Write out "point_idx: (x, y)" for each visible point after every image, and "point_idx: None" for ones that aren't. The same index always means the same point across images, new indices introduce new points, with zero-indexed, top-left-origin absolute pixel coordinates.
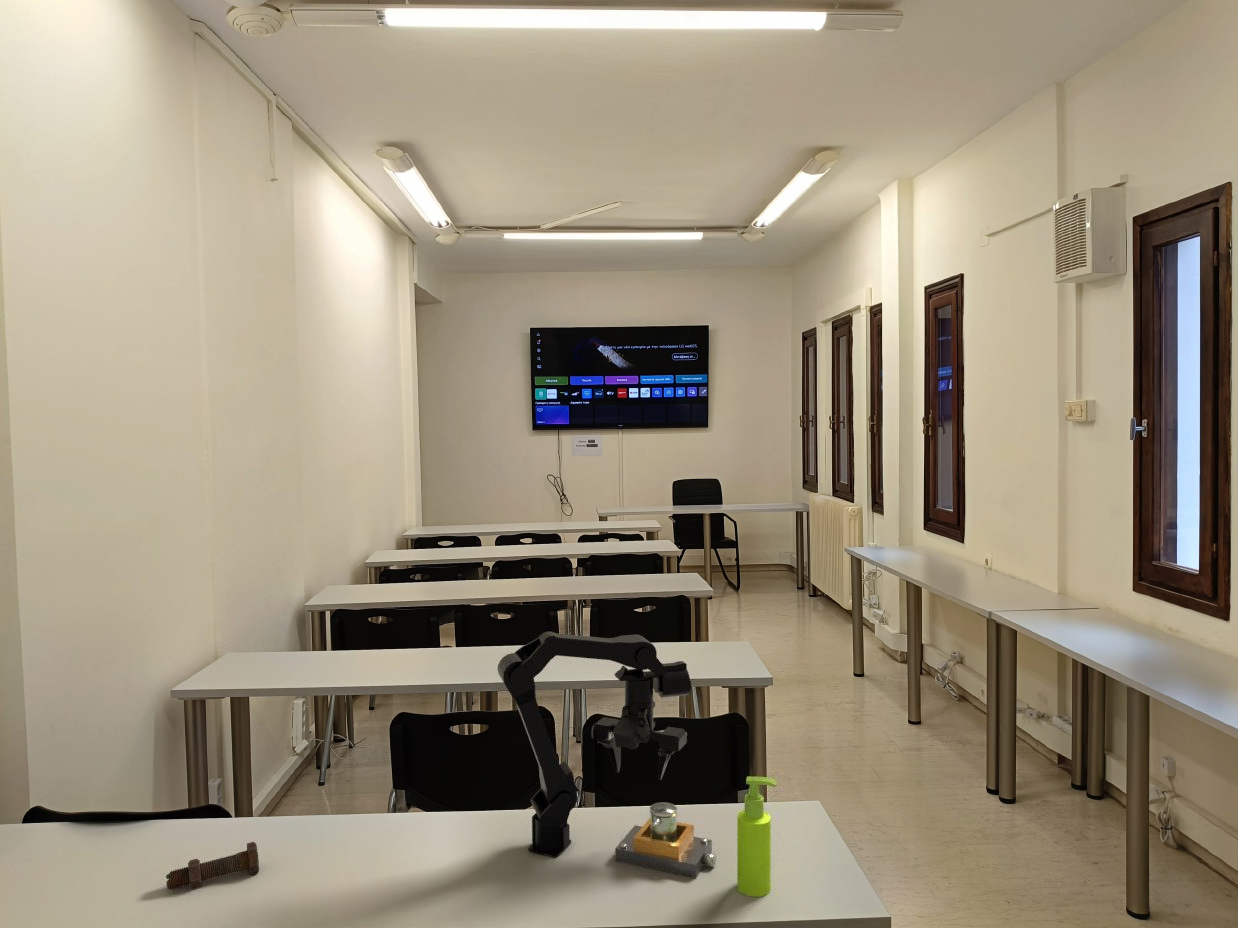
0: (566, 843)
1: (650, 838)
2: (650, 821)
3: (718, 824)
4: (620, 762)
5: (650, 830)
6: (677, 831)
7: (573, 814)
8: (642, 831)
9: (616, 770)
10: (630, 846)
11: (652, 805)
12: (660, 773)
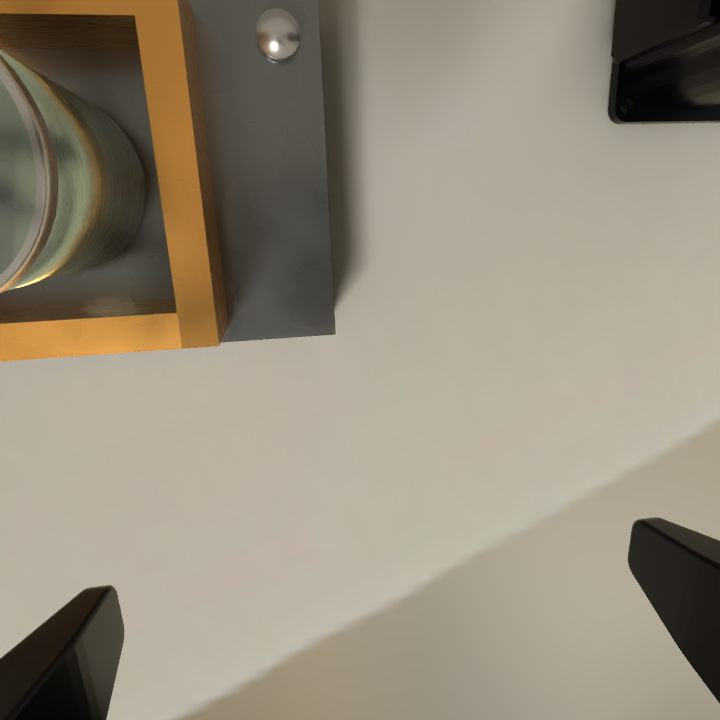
0: (628, 4)
1: (40, 12)
2: (68, 112)
3: (9, 615)
4: (687, 655)
5: (101, 132)
6: (3, 314)
7: (680, 389)
8: (161, 105)
9: (663, 524)
10: (238, 59)
11: (34, 181)
12: (26, 649)
